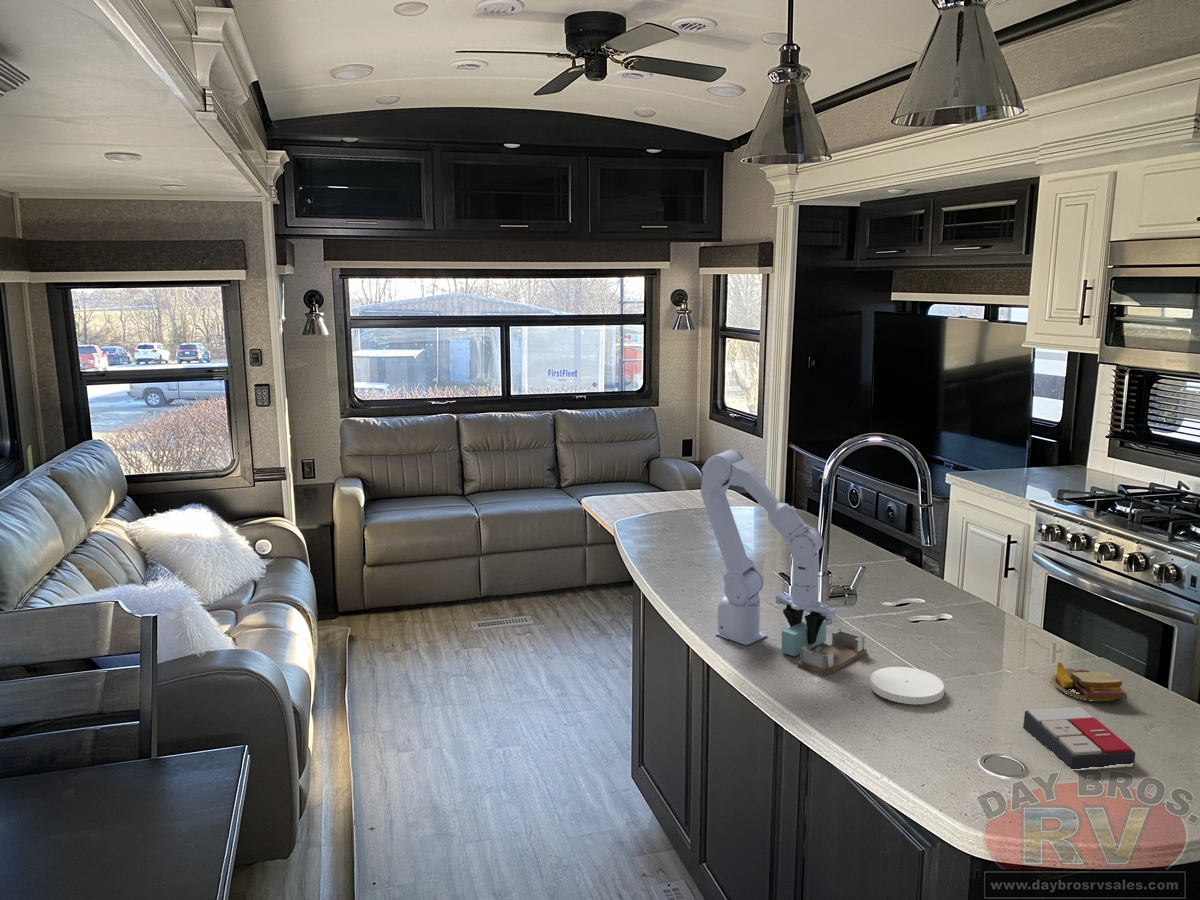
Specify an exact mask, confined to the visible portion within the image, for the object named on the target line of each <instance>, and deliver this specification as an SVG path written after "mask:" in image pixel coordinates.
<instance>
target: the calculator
mask: <svg viewBox="0 0 1200 900" xmlns="http://www.w3.org/2000/svg"><path fill="white" fill-rule="evenodd" d="M1023 715H1024V717H1023V724H1022V725H1023V726H1022V727H1023V730H1025V731H1026V732H1027V733H1028V734H1029V733H1030V734H1031V735H1030V734H1029V735H1030V736H1031V737H1033V738H1034V737H1035V738H1036V740H1037V741H1038V742H1039V743H1041V744H1042V745H1043V746H1044V745H1045V746H1046V747H1047V748H1048V749H1049V750H1050V751H1052V752H1053V753H1054V754H1055V755H1056V756H1057V757H1058V758H1059V759H1060V760H1062V761H1063V762H1064V763H1065V764H1066V765H1067V766H1068V767H1070V768H1071V769H1081V768H1089V767H1104V766H1109V765H1116V764H1131V763H1134V764H1135V762H1136V761H1135V759H1136V751H1135V750H1133V749H1132V747H1131V746H1129V744H1127V743H1126V742H1125V741H1123V740H1122V739H1121V738H1120V737H1119V736H1118V735H1117V734H1115V733H1114V732H1113V731H1112V730H1110V729H1109V728H1108V727H1107V726H1106V725H1104V724H1103V723H1102V722H1101V721H1100V720H1098V719H1097V718H1095V717H1093V716H1092V715H1091V714H1090V712H1087V710H1085V709H1084V708H1083V707H1081V706H1076V707H1075V706H1074V707H1061V708H1059V707H1058V708H1044V709H1043V708H1042V709H1030V710H1025V711H1024V714H1023ZM1035 738H1034V739H1035ZM1045 746H1044V747H1045ZM1046 747H1045V748H1046ZM1047 748H1046V749H1047ZM1048 749H1047V750H1048ZM1049 750H1048V751H1049ZM1050 751H1049V752H1050ZM1056 756H1055V757H1056ZM1057 757H1056V758H1057ZM1058 758H1057V759H1058ZM1059 759H1058V760H1059ZM1060 760H1059V761H1060ZM1065 764H1064V765H1065ZM1066 765H1065V766H1066ZM1067 766H1066V767H1067ZM1068 767H1067V768H1068Z"/></svg>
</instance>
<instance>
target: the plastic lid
mask: <svg viewBox="0 0 1200 900" xmlns="http://www.w3.org/2000/svg"><path fill="white" fill-rule="evenodd" d="M869 686H870V689H871V690H872V692H874V693H875V694H877V695H878V696H880V697H881V698H884V699H886V700H888V701H891V702H895V703H899V704H900V703H901V704H904V705H906V704H908V705H926V704H927V705H929V704H932V703H936V702H938V701H940V700H941V699H942V698H944V694H945V683H944V682H943V680H942V679H941V678H939V677H938V676H937V675H935V674H933V673H931V672H929V671H925V670H922V669H918V668H914V667H913V668H912V667H906V666H904V667H903V666H892V667H891V666H889V667H884V668H882V667H881V668H880V669H876V670H875V671H874V672H872V673H871V674H870V682H869Z"/></svg>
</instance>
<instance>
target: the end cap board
mask: <svg viewBox="0 0 1200 900" xmlns="http://www.w3.org/2000/svg"><path fill="white" fill-rule="evenodd" d="M817 652H818V653H821V654H824V655H826V654H828V653H830V652H831V653H834V655H833V667H831V668H830V669H828V670H823V669H820V668H817V667H814V666H811V665H808V664H805V663H802V662H800V660H799V661H797V664H796V666H797V667H798V668H801V669H803V670H806V671H809V672H812V673H815V674H818V675H821V676H824V677H826V676H829V675H830V674H833V673H834V672H836V671H838V670H840V669H841V668H843V667H845V666H847V665H849V664H850V663H853V662H854V661H856V660H858V659H859V658H861V657H863V656H865V655H866V654H867V653H868V648H865V647H864V650H863V651H861V652H859V653H855V652H854V648H852V647H849V646H846V645H842V644H839V645H837V646H833V645H832V644H830V645H828V646H826V647H824V648H822V649H820V650H818V651H817Z"/></svg>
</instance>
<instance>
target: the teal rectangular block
mask: <svg viewBox="0 0 1200 900" xmlns="http://www.w3.org/2000/svg"><path fill="white" fill-rule="evenodd" d="M807 634H808V631H807V624H806V620H802V622H801V623H799V624H796V625H794V626H792V627H790V626H789V627H787V628H785V629H783V630H781V653H783V654H786V655H789V656H791V657H797V656H798V655H800V649H801V648H803V647H805V646H807V645H810V644H808V640H807ZM826 641H827V620H824V621H823V623H822V625H821V627H820V629H819V632H818V635H817V638H816V642H815V643H813V644H811V645H810V646H811V649H813V648H815V647H817V646H819V645H821V644H823V643H826Z"/></svg>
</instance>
